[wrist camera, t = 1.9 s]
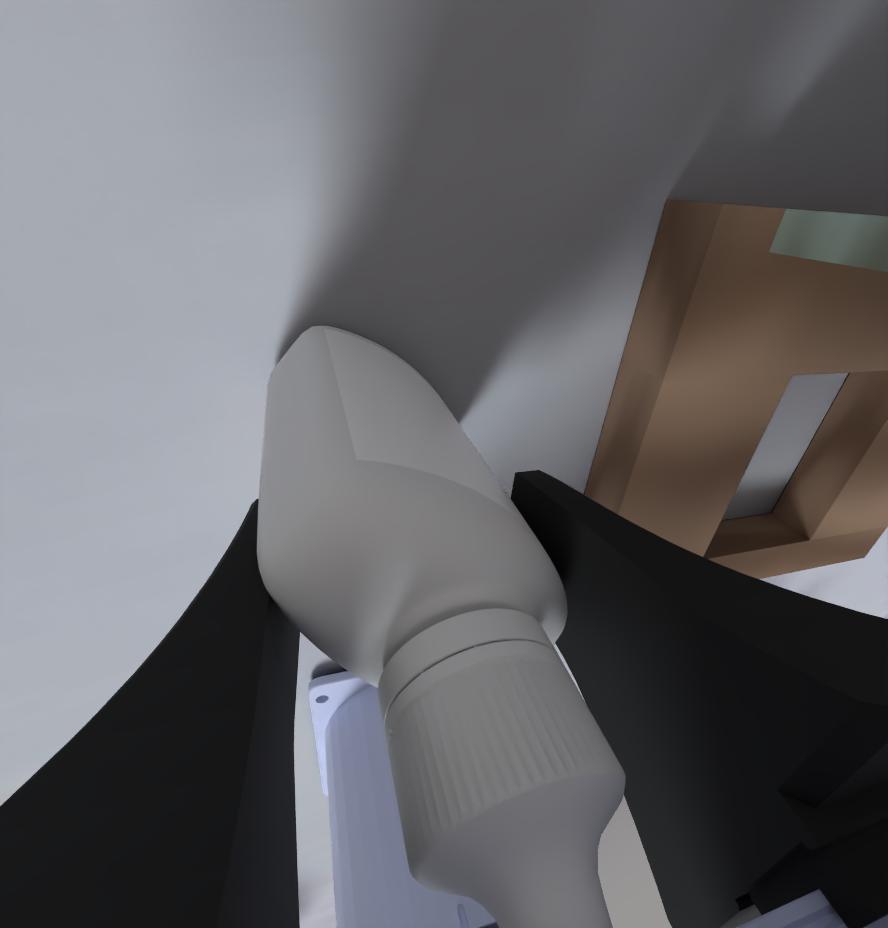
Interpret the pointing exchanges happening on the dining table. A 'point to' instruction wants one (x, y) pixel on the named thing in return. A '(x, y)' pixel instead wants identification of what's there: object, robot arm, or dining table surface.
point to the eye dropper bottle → (437, 629)
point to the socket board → (752, 384)
